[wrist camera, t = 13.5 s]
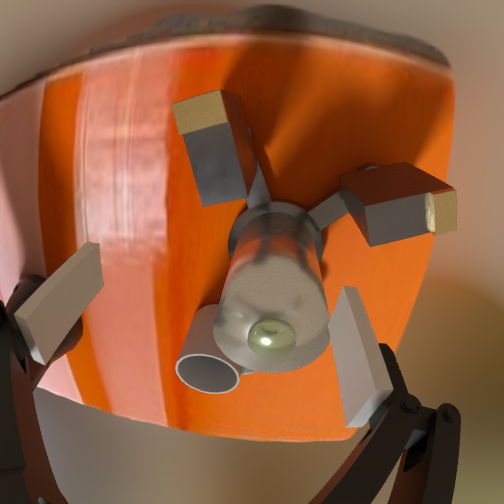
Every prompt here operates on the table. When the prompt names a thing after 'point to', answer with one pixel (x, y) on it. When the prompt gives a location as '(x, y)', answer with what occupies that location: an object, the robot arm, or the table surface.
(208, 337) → the cup
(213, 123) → the grey rectangular block
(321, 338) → the stand
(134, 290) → the table surface
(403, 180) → the tan-tipped grey block
